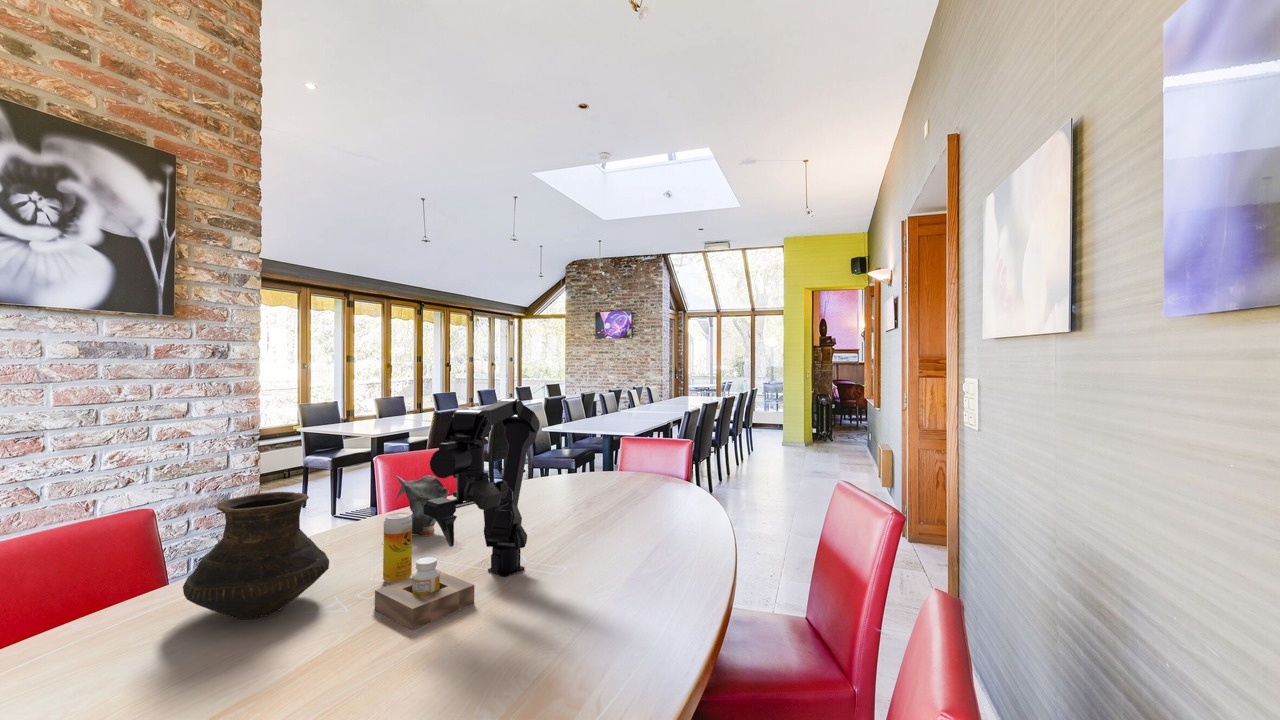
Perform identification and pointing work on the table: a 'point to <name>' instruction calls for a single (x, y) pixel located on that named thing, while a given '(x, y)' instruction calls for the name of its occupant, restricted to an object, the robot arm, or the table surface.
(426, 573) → the supplement bottle
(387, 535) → the beer can
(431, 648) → the table surface
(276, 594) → the ceramic pot
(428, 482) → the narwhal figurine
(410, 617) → the socket block
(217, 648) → the table surface
